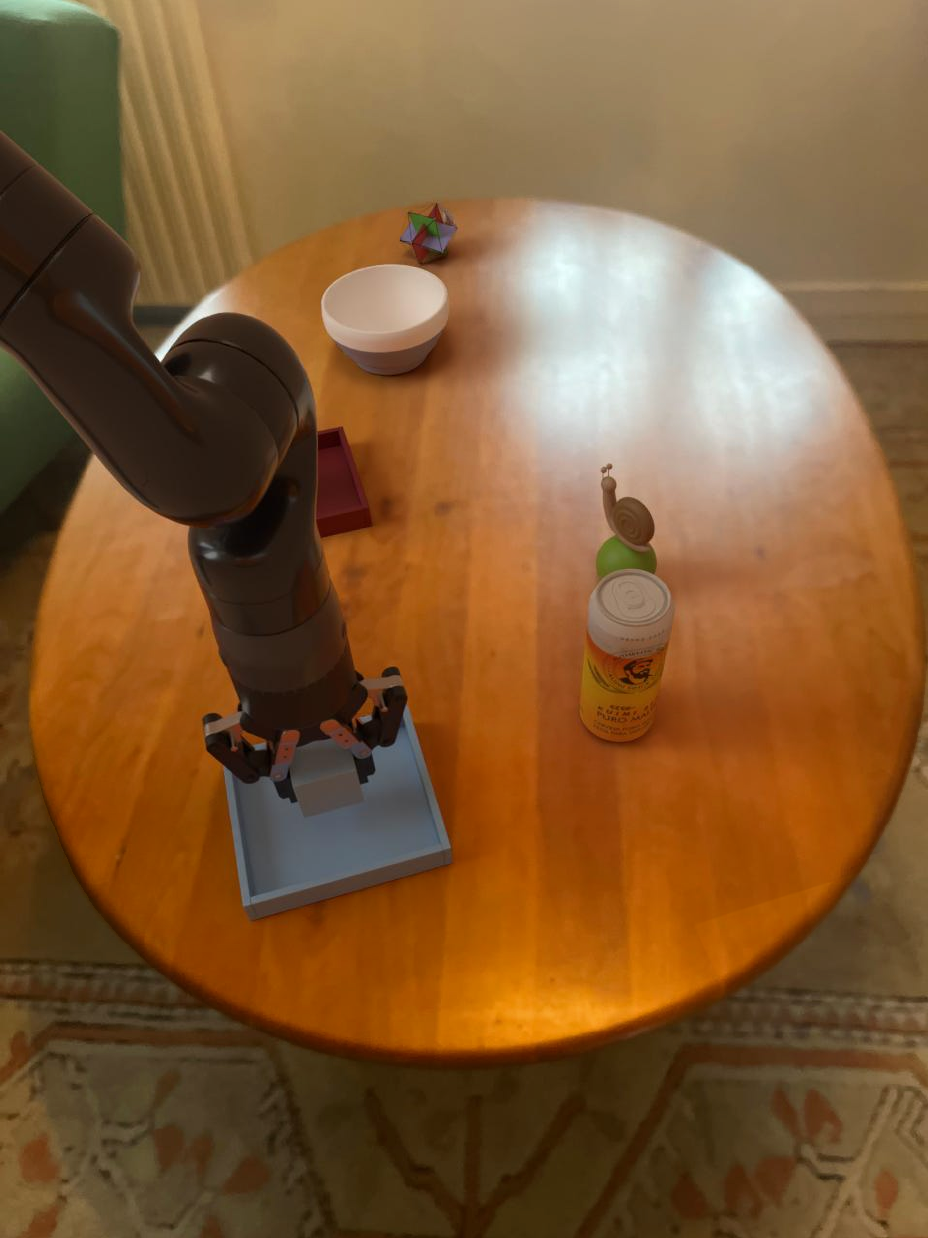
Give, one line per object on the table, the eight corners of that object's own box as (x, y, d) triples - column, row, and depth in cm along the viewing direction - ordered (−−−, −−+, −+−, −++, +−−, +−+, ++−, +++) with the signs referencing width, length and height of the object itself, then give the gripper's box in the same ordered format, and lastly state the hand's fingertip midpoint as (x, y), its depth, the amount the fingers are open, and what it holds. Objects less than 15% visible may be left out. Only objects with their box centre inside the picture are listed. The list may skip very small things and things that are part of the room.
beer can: (594, 755, 76) (608, 638, 65) (568, 696, 80) (577, 575, 69) (665, 736, 77) (691, 616, 66) (635, 678, 81) (655, 556, 70)
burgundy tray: (219, 560, 92) (213, 542, 90) (205, 474, 100) (199, 456, 98) (372, 525, 94) (369, 507, 92) (345, 444, 103) (342, 425, 101)
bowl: (440, 396, 107) (436, 337, 102) (316, 388, 109) (305, 330, 103) (461, 323, 116) (458, 265, 111) (346, 317, 118) (337, 260, 113)
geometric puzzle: (428, 266, 121) (446, 201, 119) (384, 253, 124) (400, 189, 121) (454, 276, 128) (471, 214, 125) (411, 263, 130) (427, 203, 128)
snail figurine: (615, 547, 91) (626, 450, 82) (665, 585, 88) (683, 487, 78) (574, 575, 89) (581, 478, 80) (624, 614, 86) (637, 518, 76)
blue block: (304, 818, 69) (292, 787, 65) (293, 767, 72) (282, 734, 68) (364, 802, 70) (356, 770, 66) (351, 751, 72) (343, 718, 69)
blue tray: (250, 921, 69) (242, 907, 67) (228, 769, 77) (221, 753, 75) (453, 863, 71) (451, 847, 69) (410, 722, 79) (407, 704, 77)
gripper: (385, 567, 61) (408, 718, 74) (159, 621, 59) (225, 766, 72) (413, 656, 56) (433, 800, 69) (170, 718, 54) (238, 854, 67)
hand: (327, 782), depth 70 cm, fingers closed on blue block, 4 cm apart
